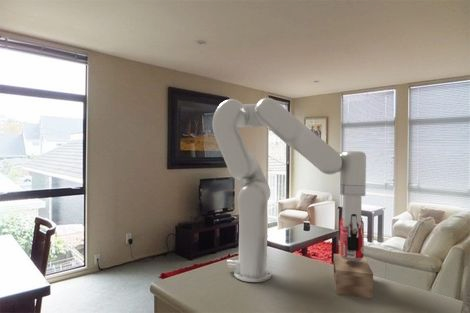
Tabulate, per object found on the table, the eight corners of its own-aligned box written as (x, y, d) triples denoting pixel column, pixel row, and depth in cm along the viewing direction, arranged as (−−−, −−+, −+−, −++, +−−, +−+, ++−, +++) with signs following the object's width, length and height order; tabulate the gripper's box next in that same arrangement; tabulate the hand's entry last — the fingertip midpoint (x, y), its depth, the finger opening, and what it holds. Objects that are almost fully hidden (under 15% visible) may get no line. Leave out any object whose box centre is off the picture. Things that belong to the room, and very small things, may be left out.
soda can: (365, 263, 94) (366, 220, 94) (340, 261, 95) (341, 218, 95) (360, 255, 101) (361, 215, 101) (337, 253, 102) (338, 214, 102)
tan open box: (336, 293, 91) (336, 270, 91) (333, 273, 107) (333, 253, 107) (372, 298, 89) (373, 273, 89) (364, 277, 104) (364, 256, 104)
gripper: (338, 187, 107) (337, 238, 107) (342, 192, 90) (341, 254, 90) (361, 188, 105) (360, 240, 105) (369, 194, 88) (368, 256, 88)
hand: (351, 246), depth 98 cm, fingers closed on soda can, 6 cm apart
